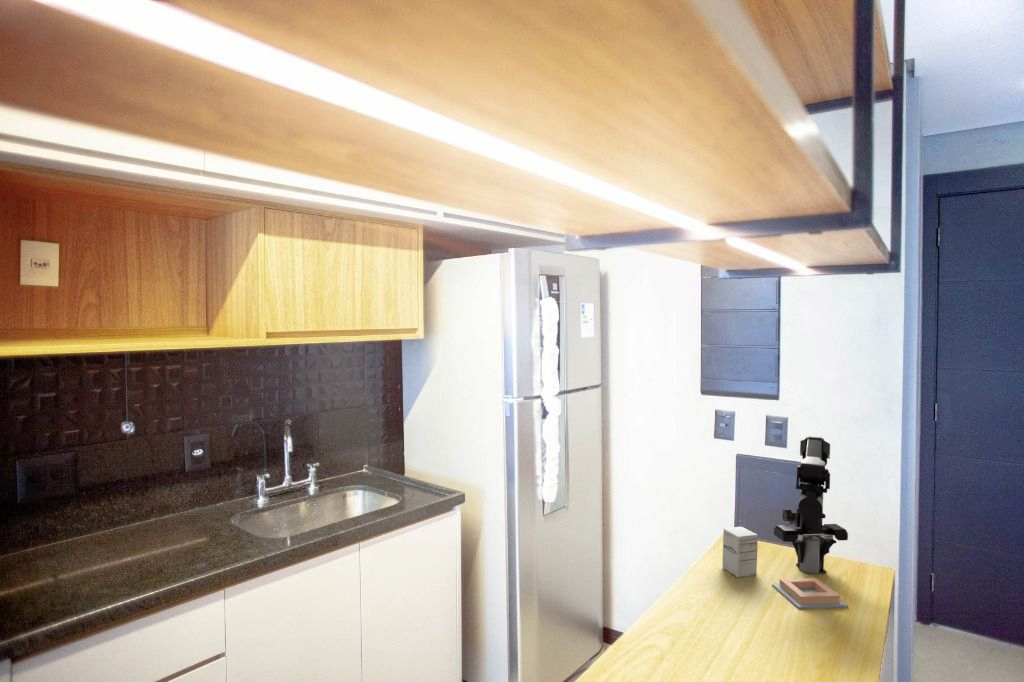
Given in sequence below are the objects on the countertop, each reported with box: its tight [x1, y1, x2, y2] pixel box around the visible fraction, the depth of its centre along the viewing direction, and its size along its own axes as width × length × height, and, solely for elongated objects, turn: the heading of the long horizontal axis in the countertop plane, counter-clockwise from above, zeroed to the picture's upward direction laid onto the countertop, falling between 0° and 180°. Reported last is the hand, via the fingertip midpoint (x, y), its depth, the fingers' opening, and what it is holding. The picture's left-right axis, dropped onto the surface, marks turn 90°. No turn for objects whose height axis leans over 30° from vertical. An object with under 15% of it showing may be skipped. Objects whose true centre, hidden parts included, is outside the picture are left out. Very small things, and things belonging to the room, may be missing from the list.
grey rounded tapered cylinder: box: [799, 536, 820, 574], centre depth 168 cm, size 5×5×9 cm
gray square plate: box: [771, 577, 849, 610], centre depth 168 cm, size 14×14×3 cm
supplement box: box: [722, 526, 759, 578], centre depth 184 cm, size 7×7×13 cm
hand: (809, 562), depth 168 cm, fingers closed on grey rounded tapered cylinder, 5 cm apart
